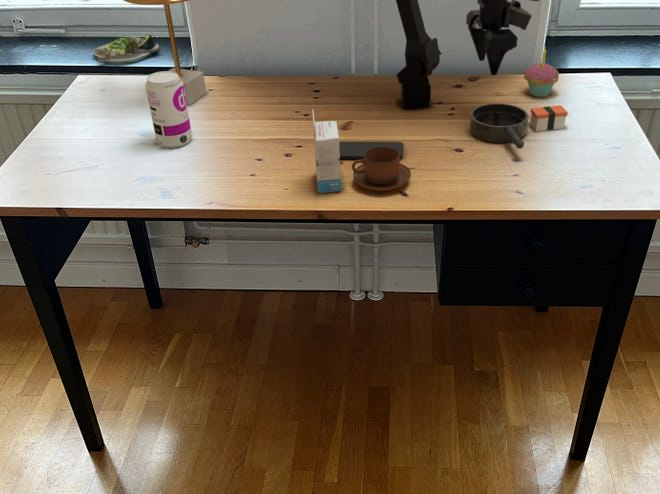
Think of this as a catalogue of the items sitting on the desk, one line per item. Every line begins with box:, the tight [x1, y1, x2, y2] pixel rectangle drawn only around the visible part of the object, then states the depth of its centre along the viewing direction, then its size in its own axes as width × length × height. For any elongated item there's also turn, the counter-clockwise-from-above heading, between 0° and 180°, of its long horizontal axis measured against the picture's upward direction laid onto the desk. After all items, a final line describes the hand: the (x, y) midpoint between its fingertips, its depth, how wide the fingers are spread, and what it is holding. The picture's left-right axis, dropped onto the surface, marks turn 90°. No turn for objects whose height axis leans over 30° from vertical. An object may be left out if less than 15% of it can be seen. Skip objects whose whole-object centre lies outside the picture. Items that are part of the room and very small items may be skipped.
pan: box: [468, 103, 529, 144], centre depth 178 cm, size 13×13×4 cm
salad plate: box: [92, 33, 163, 65], centre depth 222 cm, size 19×18×5 cm
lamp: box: [123, 0, 207, 106], centre depth 187 cm, size 21×21×41 cm
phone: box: [339, 141, 404, 160], centre depth 173 cm, size 7×1×15 cm
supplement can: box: [145, 70, 193, 149], centre depth 175 cm, size 8×8×15 cm
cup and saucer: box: [351, 147, 412, 192], centre depth 160 cm, size 12×12×6 cm
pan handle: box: [505, 127, 525, 150], centre depth 169 cm, size 9×2×2 cm, turn 10°
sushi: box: [529, 105, 569, 132], centre depth 180 cm, size 7×4×4 cm, turn 100°
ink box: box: [311, 108, 342, 194], centre depth 158 cm, size 9×5×15 cm, turn 5°
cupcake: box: [523, 47, 560, 98], centre depth 192 cm, size 9×8×12 cm
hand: (487, 67), depth 177 cm, fingers open, 9 cm apart
